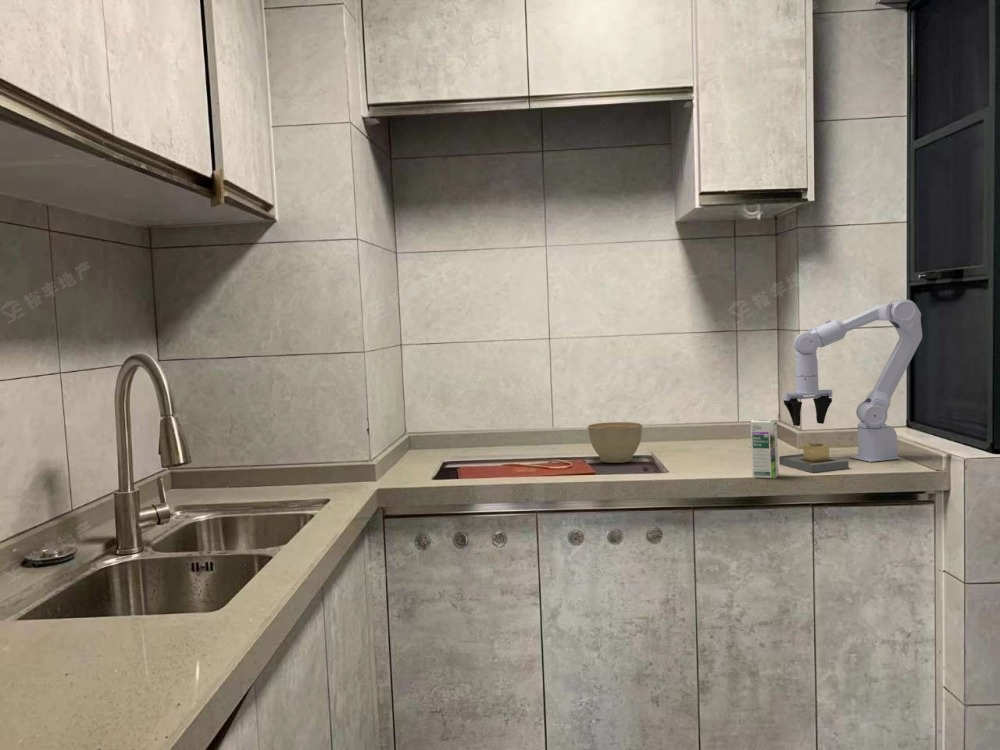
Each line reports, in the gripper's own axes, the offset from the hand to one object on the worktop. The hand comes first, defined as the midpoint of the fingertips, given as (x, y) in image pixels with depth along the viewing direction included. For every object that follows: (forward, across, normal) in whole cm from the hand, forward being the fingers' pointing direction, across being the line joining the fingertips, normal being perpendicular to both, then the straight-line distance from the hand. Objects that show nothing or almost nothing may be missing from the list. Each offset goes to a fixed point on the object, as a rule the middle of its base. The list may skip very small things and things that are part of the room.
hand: (808, 424), depth 215 cm
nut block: (+10, +6, +11) cm, 16 cm away
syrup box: (+10, +23, +14) cm, 29 cm away
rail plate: (+10, +6, +9) cm, 14 cm away
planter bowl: (+10, +46, -28) cm, 55 cm away
